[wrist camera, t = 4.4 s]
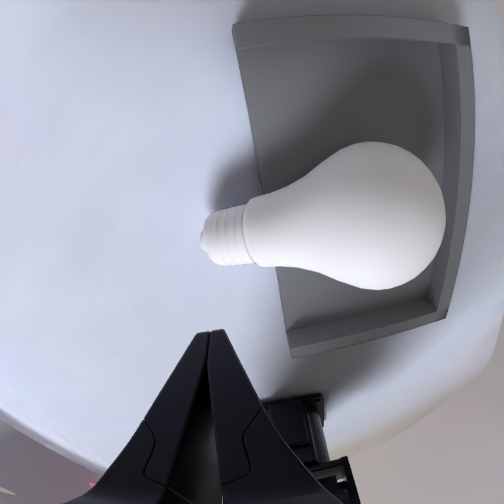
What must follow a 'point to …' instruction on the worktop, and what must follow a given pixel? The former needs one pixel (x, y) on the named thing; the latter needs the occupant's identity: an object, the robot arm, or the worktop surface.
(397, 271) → the lightbulb
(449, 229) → the tray
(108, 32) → the worktop surface
